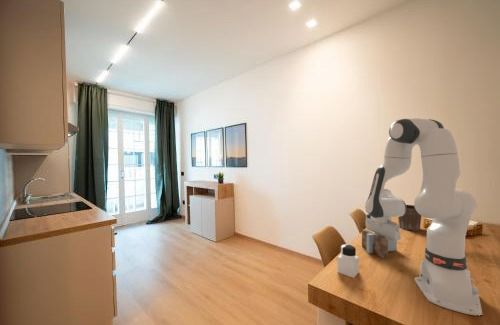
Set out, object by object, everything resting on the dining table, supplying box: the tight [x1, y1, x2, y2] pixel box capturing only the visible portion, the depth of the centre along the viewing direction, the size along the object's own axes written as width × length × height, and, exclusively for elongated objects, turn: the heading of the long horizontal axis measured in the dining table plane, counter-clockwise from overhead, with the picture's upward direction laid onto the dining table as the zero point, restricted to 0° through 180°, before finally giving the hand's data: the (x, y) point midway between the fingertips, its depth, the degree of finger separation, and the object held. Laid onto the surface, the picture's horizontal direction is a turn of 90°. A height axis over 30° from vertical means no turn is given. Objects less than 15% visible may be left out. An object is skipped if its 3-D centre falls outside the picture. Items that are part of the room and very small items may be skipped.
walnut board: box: [361, 228, 389, 260], centre depth 115 cm, size 16×2×10 cm, turn 12°
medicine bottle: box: [337, 244, 360, 279], centre depth 95 cm, size 7×7×12 cm
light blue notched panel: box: [365, 232, 398, 254], centre depth 116 cm, size 18×2×10 cm, turn 102°
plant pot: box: [397, 204, 422, 232], centre depth 154 cm, size 16×16×16 cm
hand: (381, 242), depth 116 cm, fingers closed on light blue notched panel, 2 cm apart
